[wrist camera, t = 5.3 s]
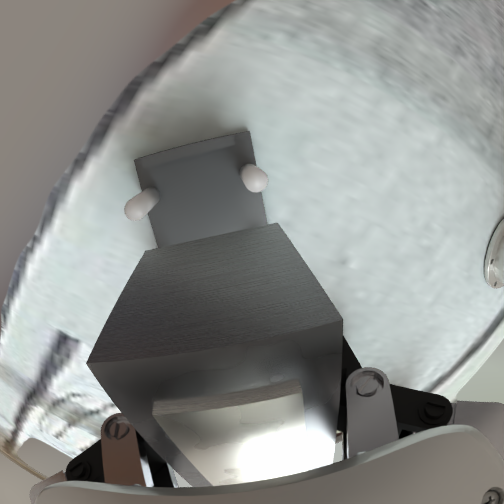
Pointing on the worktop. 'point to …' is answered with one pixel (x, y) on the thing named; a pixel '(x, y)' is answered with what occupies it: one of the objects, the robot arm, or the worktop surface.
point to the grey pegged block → (200, 190)
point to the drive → (226, 358)
